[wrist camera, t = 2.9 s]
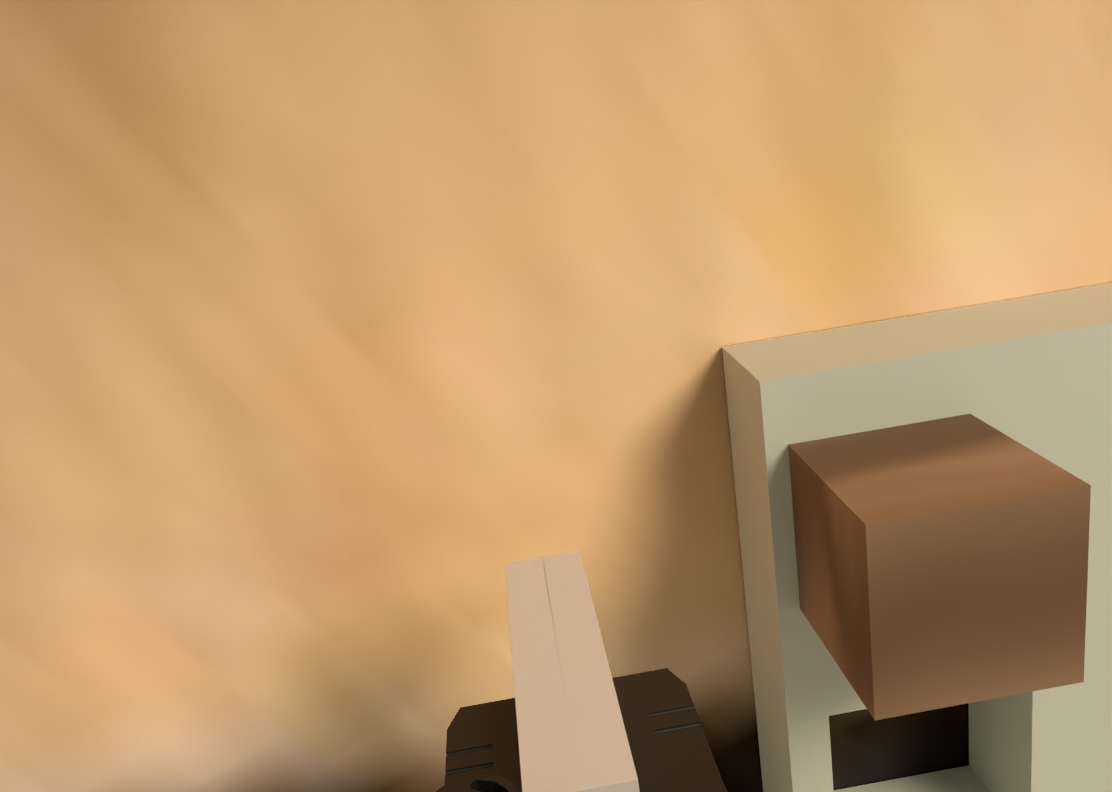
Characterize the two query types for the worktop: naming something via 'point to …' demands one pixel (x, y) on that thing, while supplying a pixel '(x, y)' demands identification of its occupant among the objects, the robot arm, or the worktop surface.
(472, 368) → the worktop surface
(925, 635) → the walnut block
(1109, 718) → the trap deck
